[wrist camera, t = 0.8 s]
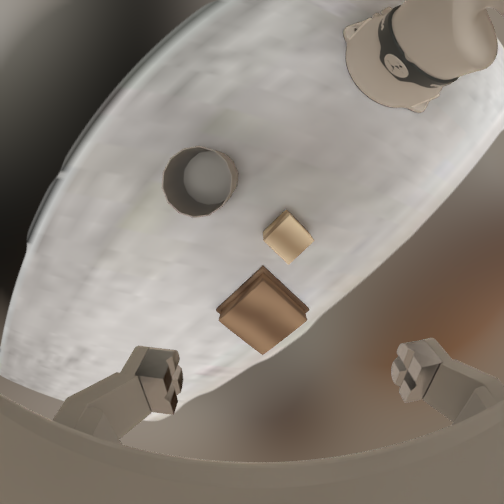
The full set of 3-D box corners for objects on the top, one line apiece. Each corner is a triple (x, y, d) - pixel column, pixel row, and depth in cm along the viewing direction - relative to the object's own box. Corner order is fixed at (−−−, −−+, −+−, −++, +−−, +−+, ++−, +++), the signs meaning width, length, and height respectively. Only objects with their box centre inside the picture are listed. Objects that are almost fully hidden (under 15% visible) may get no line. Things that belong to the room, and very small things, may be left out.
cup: (219, 214, 42) (208, 230, 32) (174, 188, 40) (150, 196, 31) (248, 167, 39) (245, 168, 30) (201, 140, 38) (184, 133, 29)
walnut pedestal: (262, 265, 44) (263, 275, 40) (308, 307, 46) (312, 320, 42) (216, 308, 47) (213, 320, 43) (262, 345, 49) (262, 358, 45)
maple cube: (286, 209, 41) (289, 215, 36) (308, 231, 42) (314, 240, 37) (262, 231, 42) (263, 240, 38) (285, 253, 43) (288, 264, 39)
